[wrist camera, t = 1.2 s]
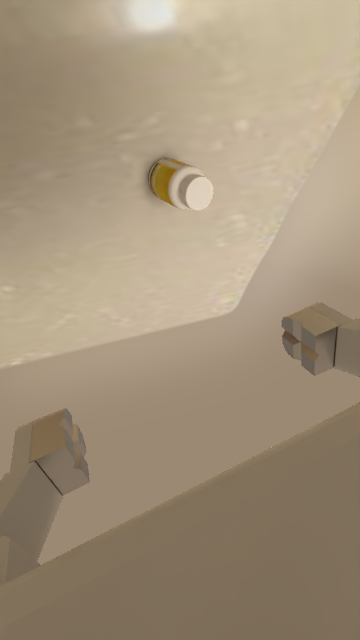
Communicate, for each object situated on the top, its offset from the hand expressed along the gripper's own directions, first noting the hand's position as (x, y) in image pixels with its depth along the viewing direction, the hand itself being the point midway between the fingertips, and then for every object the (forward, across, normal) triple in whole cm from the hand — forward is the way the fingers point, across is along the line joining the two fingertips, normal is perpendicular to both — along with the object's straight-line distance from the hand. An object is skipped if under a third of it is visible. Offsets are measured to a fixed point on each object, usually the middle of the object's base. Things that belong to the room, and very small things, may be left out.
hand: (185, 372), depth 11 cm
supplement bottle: (+38, -12, -1) cm, 40 cm away
